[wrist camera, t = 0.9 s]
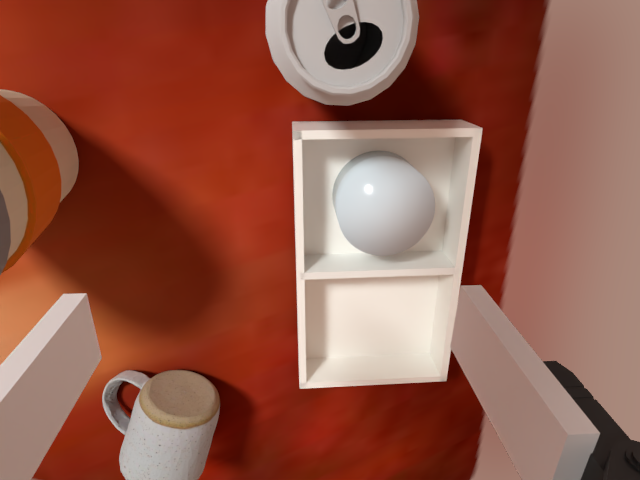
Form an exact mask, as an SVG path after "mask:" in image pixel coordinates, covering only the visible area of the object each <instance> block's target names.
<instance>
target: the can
mask: <svg viewBox="0 0 640 480" xmlns="http://www.w3.org/2000/svg"><path fill="white" fill-rule="evenodd" d="M418 21H419V14H418V7H417V1H416V0H268V1H267V5H266V37H267V41H268V44H269V48H270V51H271V55H272V58H273V61H274V62H275V64H276V65H277V67H278V68H279V70H280V72H281V73H282V75H283V76H284V78H285V79H286V81H287V82H288V83H290V84H291V85H292V86H293V87H294V88H296V89H297V90H298V91H299V92H300V93H302V94H303V95H304V96H306V97H308V98H311V99H313V100H316V101H318V102H321V103H323V104H326V105H344V106H349V105H353V104H356V103H360V102H363V101H367V100H370V99H372V98H373V97H375V96H376V95H378V94H379V93H381V92H382V91H384V90H385V89H387V88H388V87H390V86H391V85H392V83H393V82H394V81H395V80H396V78H397V77H398V76H399V75H400V74H401V72H402V71H403V70H404V69H405V67H406V65H407V63H408V60H409V58H410V56H411V53H412V51H413V49H414V46H415V44H416V37H417V29H418Z"/></svg>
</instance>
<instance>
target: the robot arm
mask: <svg viewBox="0 0 640 480" xmlns="http://www.w3.org/2000/svg"><path fill="white" fill-rule="evenodd" d="M450 348H451V350H452V351H453V353H454V355H455V357H456V359H457V361H458V363H459V364H460V366H461V368H462V370H463V372H464V374H465V376H466V377H467V379H468V381H469V383H470V385H471V387H472V389H473V390H474V392H475V394H476V396H477V398H478V400H479V402H480V403H481V405H482V407H483V409H484V411H485V413H486V415H487V416H488V418H489V420H490V422H491V424H492V426H493V427H494V429H495V431H496V433H497V435H498V437H499V439H500V440H501V442H502V444H503V446H504V448H505V450H506V452H507V454H508V455H509V457H510V459H511V461H512V463H513V464H514V467H515V468H516V470H517V472H518V474H519V476H520V478H521V479H522V480H640V442H637V441H634V440H630V439H629V437H628V436H627V435H626V434H625V433H624V431H623V430H622V429H621V428H620V427H619V426H618V425H617V423H616V422H615V421H614V420H613V419H612V418H611V416H610V415H609V414H608V413H607V412H606V411H605V410H604V408H603V407H602V406H601V405H600V404H599V403H598V402H597V400H594V399H593V396H592V395H591V393H590V392H589V391H588V390H587V389H585V388H584V386H583V384H582V383H581V382H580V381H579V380H578V379H577V377H576V376H575V375H574V374H573V373H572V372H571V371H569V370H568V369H567V368H565V367H564V366H562V365H561V364H559V363H558V362H556V361H544V362H543V361H542V360H541V359H540V358H539V356H538V355H537V354H536V353H535V352H534V350H533V349H532V348H531V346H530V345H529V344H528V343H527V341H526V340H525V339H524V338H523V336H521V334H520V333H519V332H518V331H517V329H516V328H515V327H514V325H513V324H512V323H511V322H510V320H509V319H508V318H507V317H506V315H505V314H504V313H503V312H502V310H501V309H500V308H499V307H498V305H497V304H496V303H495V302H494V300H493V299H492V298H491V297H490V295H489V294H488V293H487V292H486V290H485V289H484V288H483V287H482V285H466V286H461V288H460V293H459V299H458V305H457V310H456V316H455V322H454V328H453V333H452V339H451V345H450ZM101 358H102V357H101V352H100V348H99V344H98V339H97V335H96V331H95V327H94V322H93V318H92V314H91V310H90V305H89V301H88V297H87V293H79V294H63V295H62V296H61V297H60V298H59V299H58V301H57V302H56V303H55V304H54V305H53V306H52V307H51V308H50V310H49V311H48V312H47V313H46V314H45V315H44V316H43V318H42V319H41V320H40V321H39V322H38V323H37V324H36V325H35V327H34V328H33V329H32V330H31V331H30V332H29V333H28V335H27V336H26V337H25V338H24V339H23V340H22V341H21V342H20V344H19V345H18V346H17V347H16V348H15V349H14V350H13V352H12V353H11V354H10V355H9V356H8V357H7V358H6V359H5V361H4V362H3V363H2V364H1V365H0V480H31V479H32V477H33V475H34V474H35V472H36V470H37V468H38V467H39V465H40V463H41V462H42V460H43V458H44V456H45V455H46V453H47V451H48V449H49V448H50V446H51V444H52V443H53V441H54V439H55V437H56V436H57V434H58V432H59V431H60V429H61V427H62V425H63V424H64V422H65V420H66V419H67V417H68V415H69V413H70V412H71V410H72V408H73V407H74V405H75V403H76V401H77V400H78V398H79V396H80V395H81V393H82V391H83V389H84V388H85V386H86V384H87V382H88V381H89V379H90V377H91V376H92V374H93V372H94V370H95V369H96V367H97V365H98V364H99V362H100V360H101Z"/></svg>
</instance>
